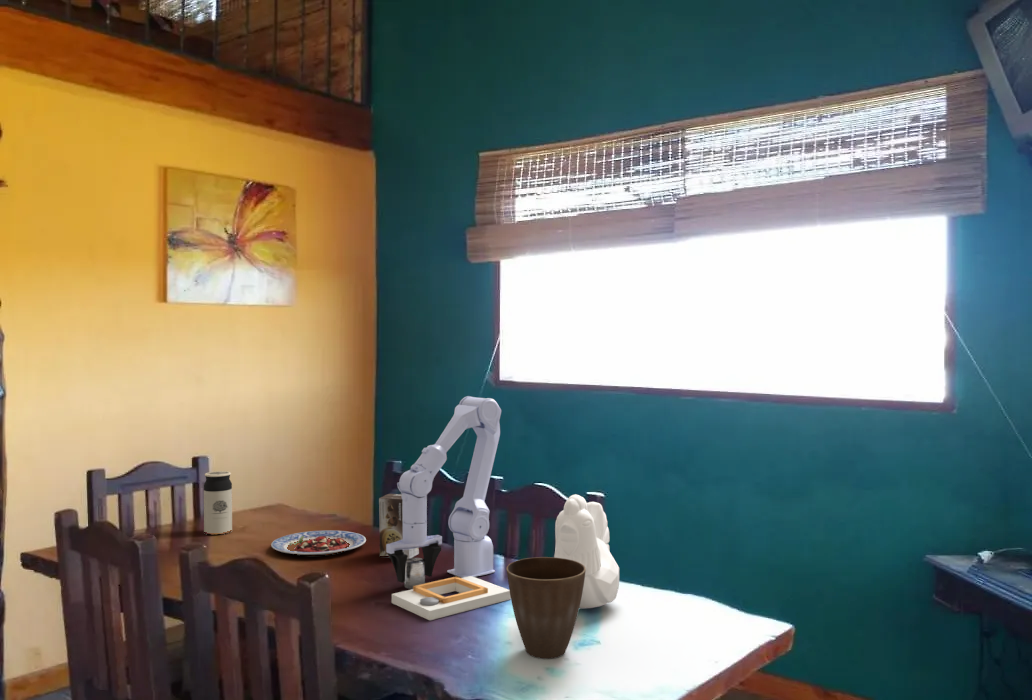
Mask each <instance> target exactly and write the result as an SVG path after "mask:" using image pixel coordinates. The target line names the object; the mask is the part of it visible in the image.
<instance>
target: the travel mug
mask: <svg viewBox="0 0 1032 700" xmlns="http://www.w3.org/2000/svg"><path fill="white" fill-rule="evenodd" d="M231 475H232V472H230V471H228V470H227V471H225V470H224V471H222V470H220V471H210V472H209V471H208V472H206V473H204V476H205V482H204V484H203V533H204V532H207V533H223V532H227V531H230V530H232V531H233V487H232V486H233V484H232V481H231V480H230V477H231Z"/></svg>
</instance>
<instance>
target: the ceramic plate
mask: <svg viewBox="0 0 1032 700" xmlns="http://www.w3.org/2000/svg"><path fill="white" fill-rule="evenodd" d="M328 538H330V539H333V540H330V539H328ZM309 539H310V540H309ZM302 540H303V541H302ZM297 541H298V542H297ZM345 541H346V542H347V543H349V544H350V545H349V547H347V548H345V547H346V546H348V544H347V543H346V542H345ZM366 541H367V539H366V537H365V536H364V535H363V534H360V533H358V532H357V533H356V532H352V531H347V530H312V531H310V530H309V531H302V532H296V533H290V534H287V535H284V536H281V537H279V538H276V539H274V540H273V541H272V542H271V544H270V545H271V548H272V549H273V550H276V551H278V552H281V553H285V554H290V555H291V554H292V555H294V554H297V555H296V556H300V555H325V556H327V555H326V554H332V555H334V554H333V553H337V554H339V553H338V552H341V553H343V552H342V551H344V552H346V551H351V550H353V549H356V548H357V549H358V548H359V547H361V546H363V545H364V544H365V543H366ZM294 542H296V543H294ZM297 543H300V544H299V545H297V546H296V547H295V548H294V550H295V551H290V550H288V549H287V547H288V545H290V546H291V545H292V544H294V545H296V544H297Z"/></svg>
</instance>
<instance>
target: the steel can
mask: <svg viewBox="0 0 1032 700" xmlns="http://www.w3.org/2000/svg"><path fill="white" fill-rule="evenodd" d="M425 583H426V575H425V559H424V557H423V558H421V557H412V558H409V559H407V561H406V567H405V582H404V588H405V589H408V590H411V589H413V586H416V585H421V584H425Z"/></svg>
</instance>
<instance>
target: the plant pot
mask: <svg viewBox="0 0 1032 700" xmlns="http://www.w3.org/2000/svg"><path fill="white" fill-rule="evenodd" d="M505 569H506V574H507V575H506V577H507V584H508V588H509V589H508V590H510V596H511V599H510V600H511V605H512V611H513V614H514V618H515V621H516V625H517V630H518V631H519V635H520V638H521V642H522V643H523V646H524V649H525V652H526V654H527V655H529V656H531V657H532V658H536V659H543V660H545V659H547V660H550V659H556V658H559V657H561V656H562V657H563V656H564V655H565V653H566V651H567V649H568V646H569V644H570V641H571V638H572V635H573V632H574V629H575V626H576V622H577V619H578V616H579V615H578V614H579V610H580V609H579V607H580V603H581V598H582V593H583V586H584V579H585V572H586V568H585V566H584V565H583V564H581V563H579V562H576V561H573V560H569V559H564V558H554V556H552V557H550V556H549V557H548V556H539V557H527V558H521V559H518V560H514V561H512V562H510V563H508V565H507V566H506V568H505Z"/></svg>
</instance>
